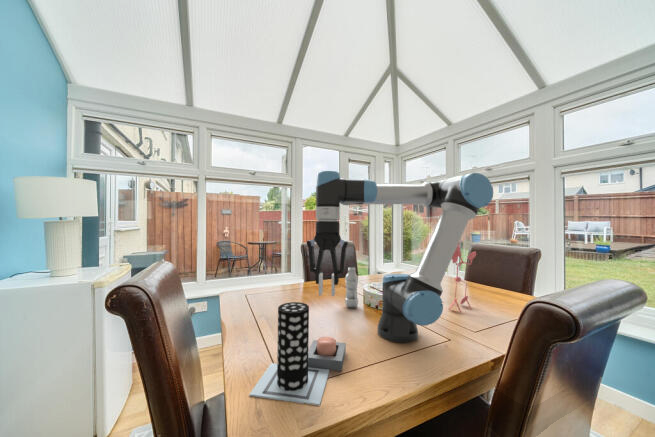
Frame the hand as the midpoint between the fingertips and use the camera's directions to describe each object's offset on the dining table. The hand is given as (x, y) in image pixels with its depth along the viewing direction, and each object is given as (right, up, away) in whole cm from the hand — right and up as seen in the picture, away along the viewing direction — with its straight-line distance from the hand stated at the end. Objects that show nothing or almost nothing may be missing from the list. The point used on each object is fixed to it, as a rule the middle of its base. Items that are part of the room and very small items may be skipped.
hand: (327, 294), depth 81 cm
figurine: (+64, -21, +50) cm, 84 cm away
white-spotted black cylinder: (-9, -20, -11) cm, 25 cm away
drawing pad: (-9, -20, -12) cm, 25 cm away
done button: (0, -19, 0) cm, 19 cm away
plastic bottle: (+12, -21, +48) cm, 53 cm away
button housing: (0, -21, 0) cm, 21 cm away
